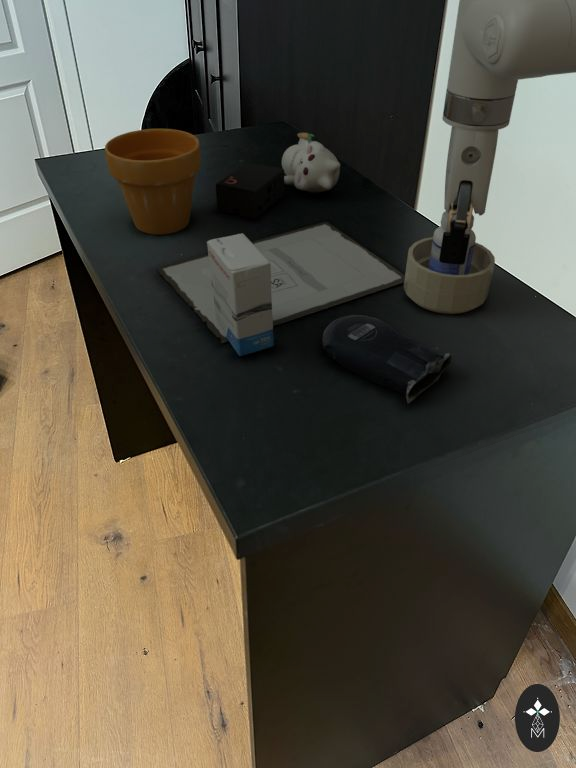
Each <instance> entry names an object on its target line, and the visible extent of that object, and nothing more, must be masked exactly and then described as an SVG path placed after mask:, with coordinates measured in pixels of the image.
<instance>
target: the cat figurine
mask: <svg viewBox="0 0 576 768" xmlns="http://www.w3.org/2000/svg"><path fill="white" fill-rule="evenodd" d="M297 137H298V138H299V140H298V142H297V144H293V145H291V146H289V147H288V148H286V150H285V151H284V152H283V155H282V157H281V169H284V185H286V186H289V187H295V188H296V189H297V190H299V191H303V192H304V191H306V192H308V193H312V194H313V193H315V194H316V193H322V192H326V191H330V190H331V189H334V187H335V186H336V185H337V183H338V181H339V177H340V171H341V162H339V160H338V159H337V157H336V155H335V154H334V153H333V152H332V151H330V150H329V149H328V148H326V147H325V146H324V145H323V144H322V143H320V142H319V141H316V140H312V138H315V135H314V134H313V133H308V132H298V133H297Z"/></svg>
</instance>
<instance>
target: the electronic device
mask: <svg viewBox="0 0 576 768" xmlns="http://www.w3.org/2000/svg"><path fill="white" fill-rule="evenodd" d="M284 176H285V172H284V169H283V168H282V167H275V166H269V165H265V164H259V163H254V162H249V161H247V162H246V163H244V164H243V165H240V167H238V168H236V169H235V170H234V171H232V172H230V174H228V175H227V176H225V177H224V178H222V179H221V180H219V181H217V182H216V183H215V196H216V208H217V209H216V210H217V211H218V212H222V213H226V214H232V215H233V214H238V215H239V216H240V217H244V218H248V219H252V220H253V219H254V220H255V219H257V218H258V217H259V216H260V215H262V214H263V213H264V212H265V211H266V210H268V209H269V208H271V207H272V206H273V205H274V204H275V203H277V201H279V200H280V199H281V198H282V197H284V196H285V183H284Z"/></svg>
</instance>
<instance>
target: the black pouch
mask: <svg viewBox="0 0 576 768" xmlns="http://www.w3.org/2000/svg"><path fill="white" fill-rule="evenodd" d="M321 341H322V342H321V343H322V347H323V350H324V351H325V353H326V354H327V355H328V356H329V357H330V358H332V360H334V361H336V363H338V364H340V365H341V367H343V368H345V369H347V370H349V371H351V372H352V373H353V372H354V373H355V374H357V375H359V376H361V377H363V378H364V379H366V380H369V381H371V382H374V383H375V384H378V385H380V386H383V387H386V388H388V389H390V390H392V391H396V392H398V393H400V394H402V395H404V396H405V398H406V402H407V404H408V405H409V404H410V403H411V402H412V401H414V400H415V399H416V398H417V397H418V396H419V395H420V394H421V393H423V392H424V391H426V390H427V389H428V388H430V387H431V386H432V385H434V384H435V383H436V382H438V381H439V379H440V377H441V376H442V374H443V372H444V371H445V370H446V369H447V368H448V367H449V365H450V364H452V363H453V361H452V358H453V356H452V355H451V353H449V352H447V353H441V352H437V351H435V350H433V349H431V348H429V347H427V346H425V345H423V344H421V343H419V342H418V341H416V340H415V339H412V338H410V337H408V336H406V335H405V334H403V333H402V332H400V331H398V330H396V329H395V328H393V327H392V326H391V325H389V324H388V323H387V322H385V321H383V320H382V319H379V318H378V317H372V316H369V315H361V314H350V315H346V316H345V315H344V316H341V317H338V318H336V319H334V320H332V321H331V322H330V323H329V324H328V326H326V328H325V329H324V331H323V334H322V339H321Z"/></svg>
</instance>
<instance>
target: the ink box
mask: <svg viewBox="0 0 576 768" xmlns="http://www.w3.org/2000/svg"><path fill="white" fill-rule="evenodd" d="M251 242H252V241H251V240H250V239H249V238H248V237H247V236H246V235H245V234H244V233H243V232H241V233H236V234H233V235H228V236H222V237H217V238H213V239H209V240H207V241H206V246H207V254H208V255H209V263H210V271H211V280H212V289H213V299H214V307H215V316H216V323H217V324H218V326H219V327H220V329H221V330H222V331H223V333H224V334H225V336H226V337H227V339H228V340H229V341H228V342H229V344H230V345H231V347H232V348H233V349H234V351H235V352H236V354H237V355H238V357H243V356H246V355H249V354H253V353H257V352H260V351H264V350H266V349H269V348H272V347H274V346H275V343H274V341H275V340H274V326H273V318H272V295H271V294H272V293H271V269H270V262H269V261H268V260H267V259H266V258H265V257H264V256H263V254H262V253H261V252H260V251H259V250H258V249H257V248H256V247H255V246H254V245H253V244H252V243H251Z"/></svg>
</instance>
